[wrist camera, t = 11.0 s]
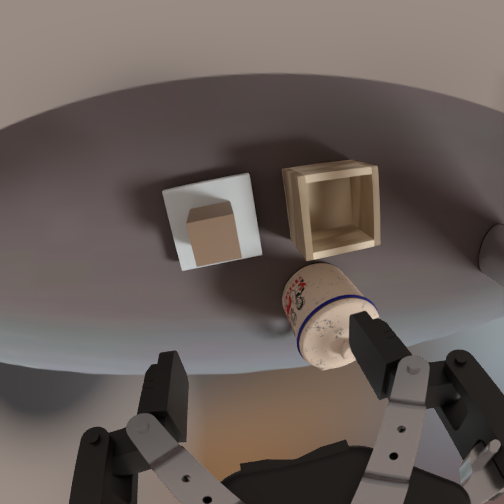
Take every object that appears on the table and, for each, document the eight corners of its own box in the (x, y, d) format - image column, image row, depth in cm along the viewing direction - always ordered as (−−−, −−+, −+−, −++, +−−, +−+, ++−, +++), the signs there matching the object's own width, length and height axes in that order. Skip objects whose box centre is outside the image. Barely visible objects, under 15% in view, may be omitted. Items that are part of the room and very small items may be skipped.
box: (350, 159, 31) (377, 166, 25) (355, 226, 34) (380, 244, 29) (281, 168, 30) (297, 176, 25) (290, 239, 34) (306, 261, 28)
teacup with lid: (280, 262, 34) (311, 319, 24) (352, 257, 36) (402, 306, 25) (276, 344, 39) (298, 410, 28) (339, 336, 40) (373, 394, 29)
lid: (246, 171, 30) (257, 181, 24) (259, 248, 34) (271, 276, 27) (165, 188, 30) (152, 202, 23) (183, 263, 33) (178, 294, 27)
